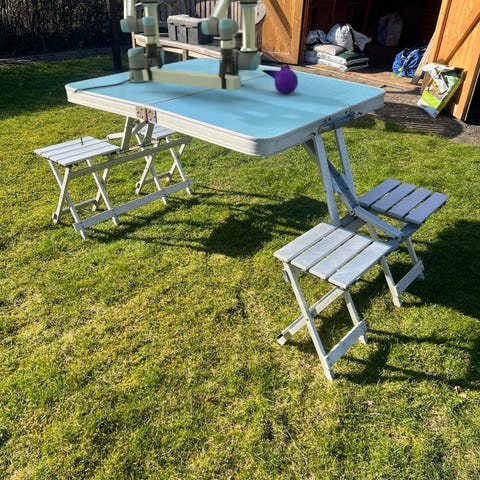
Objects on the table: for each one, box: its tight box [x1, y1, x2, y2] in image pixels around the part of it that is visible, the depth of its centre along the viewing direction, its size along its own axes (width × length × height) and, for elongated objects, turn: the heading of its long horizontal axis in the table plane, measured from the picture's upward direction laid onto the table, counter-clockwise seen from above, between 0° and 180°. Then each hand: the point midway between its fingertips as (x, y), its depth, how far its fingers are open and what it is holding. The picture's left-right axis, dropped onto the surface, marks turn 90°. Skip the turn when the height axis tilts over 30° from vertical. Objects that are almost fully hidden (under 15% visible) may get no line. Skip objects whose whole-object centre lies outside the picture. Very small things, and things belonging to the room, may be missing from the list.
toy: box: [261, 64, 299, 95], centre depth 294 cm, size 16×18×27 cm
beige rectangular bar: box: [142, 67, 242, 91], centre depth 288 cm, size 71×9×7 cm, turn 59°
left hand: (155, 79), depth 303 cm, fingers closed on beige rectangular bar, 9 cm apart
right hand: (228, 87), depth 277 cm, fingers closed on beige rectangular bar, 9 cm apart
